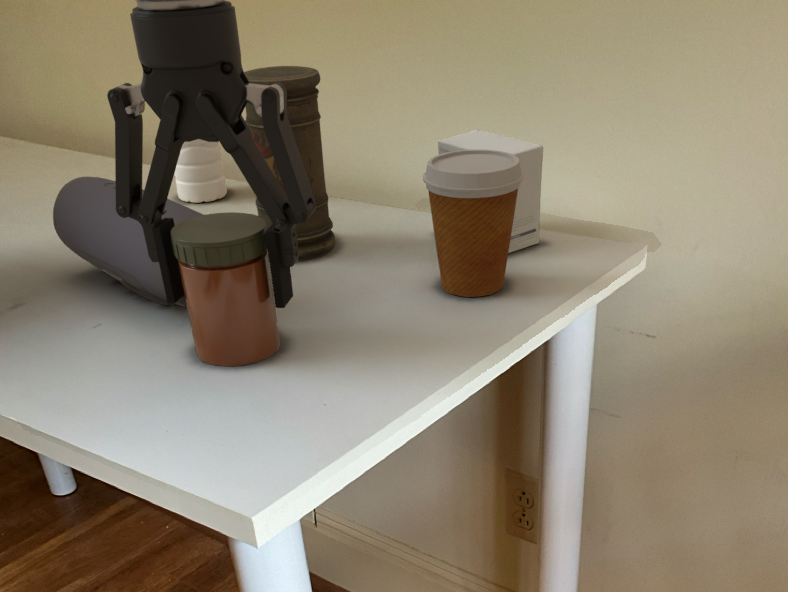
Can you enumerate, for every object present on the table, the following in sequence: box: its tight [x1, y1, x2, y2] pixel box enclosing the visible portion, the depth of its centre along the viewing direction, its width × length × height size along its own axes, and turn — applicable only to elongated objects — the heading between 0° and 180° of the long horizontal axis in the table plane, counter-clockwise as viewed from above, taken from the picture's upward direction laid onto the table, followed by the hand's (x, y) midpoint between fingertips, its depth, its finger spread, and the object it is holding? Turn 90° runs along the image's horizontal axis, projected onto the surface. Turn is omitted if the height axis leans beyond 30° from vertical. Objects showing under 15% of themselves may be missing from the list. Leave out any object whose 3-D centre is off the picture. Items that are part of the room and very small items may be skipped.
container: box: [244, 65, 336, 261], centre depth 95 cm, size 9×9×18 cm
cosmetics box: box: [437, 128, 544, 254], centre depth 98 cm, size 10×6×10 cm, turn 37°
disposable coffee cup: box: [422, 150, 524, 298], centre depth 86 cm, size 10×10×12 cm
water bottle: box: [174, 139, 228, 204], centre depth 111 cm, size 9×6×25 cm
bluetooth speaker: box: [52, 176, 204, 308], centre depth 89 cm, size 23×9×10 cm, turn 43°
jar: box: [178, 250, 281, 367], centre depth 77 cm, size 8×8×10 cm
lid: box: [171, 211, 268, 266], centre depth 74 cm, size 8×8×2 cm
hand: (230, 299), depth 77 cm, fingers open, 9 cm apart
